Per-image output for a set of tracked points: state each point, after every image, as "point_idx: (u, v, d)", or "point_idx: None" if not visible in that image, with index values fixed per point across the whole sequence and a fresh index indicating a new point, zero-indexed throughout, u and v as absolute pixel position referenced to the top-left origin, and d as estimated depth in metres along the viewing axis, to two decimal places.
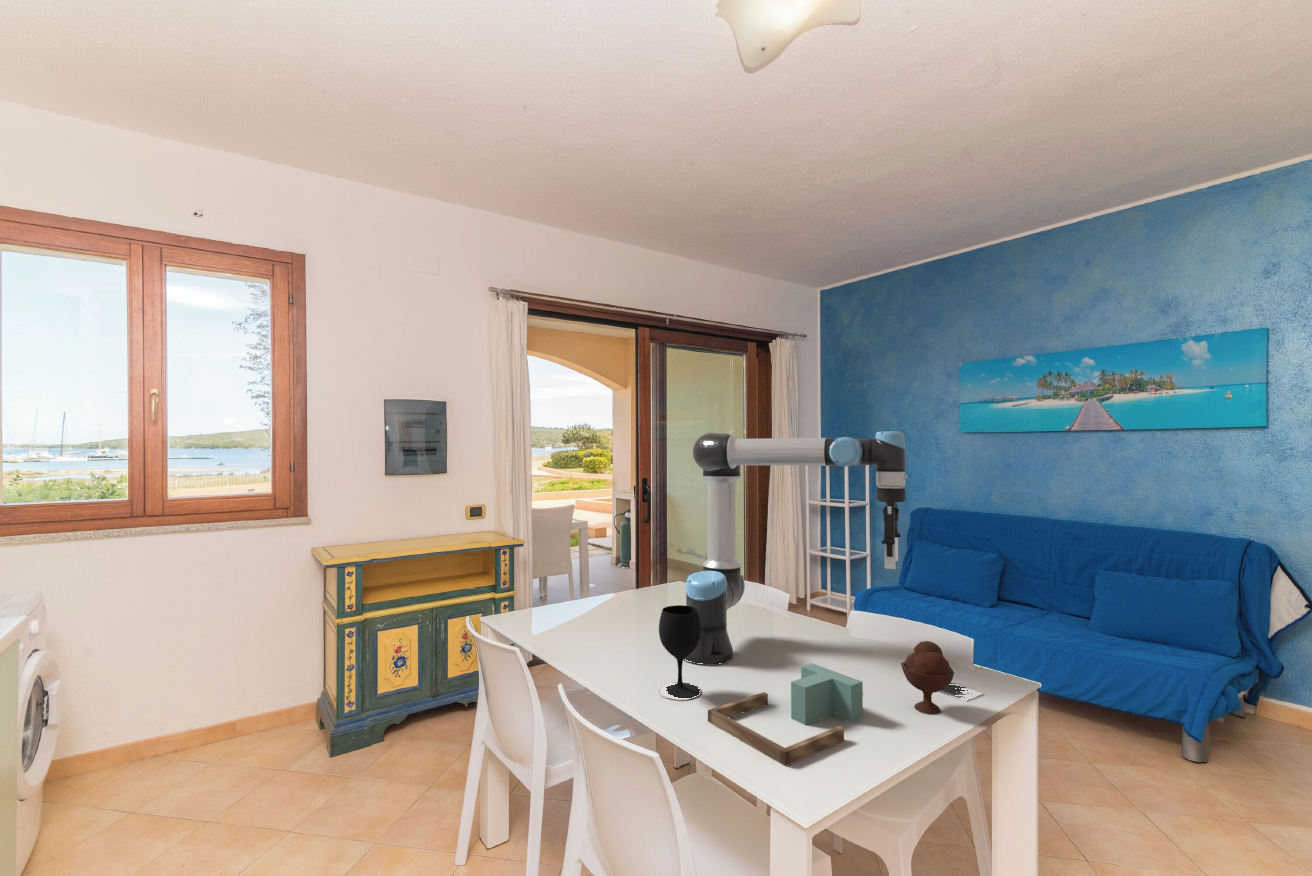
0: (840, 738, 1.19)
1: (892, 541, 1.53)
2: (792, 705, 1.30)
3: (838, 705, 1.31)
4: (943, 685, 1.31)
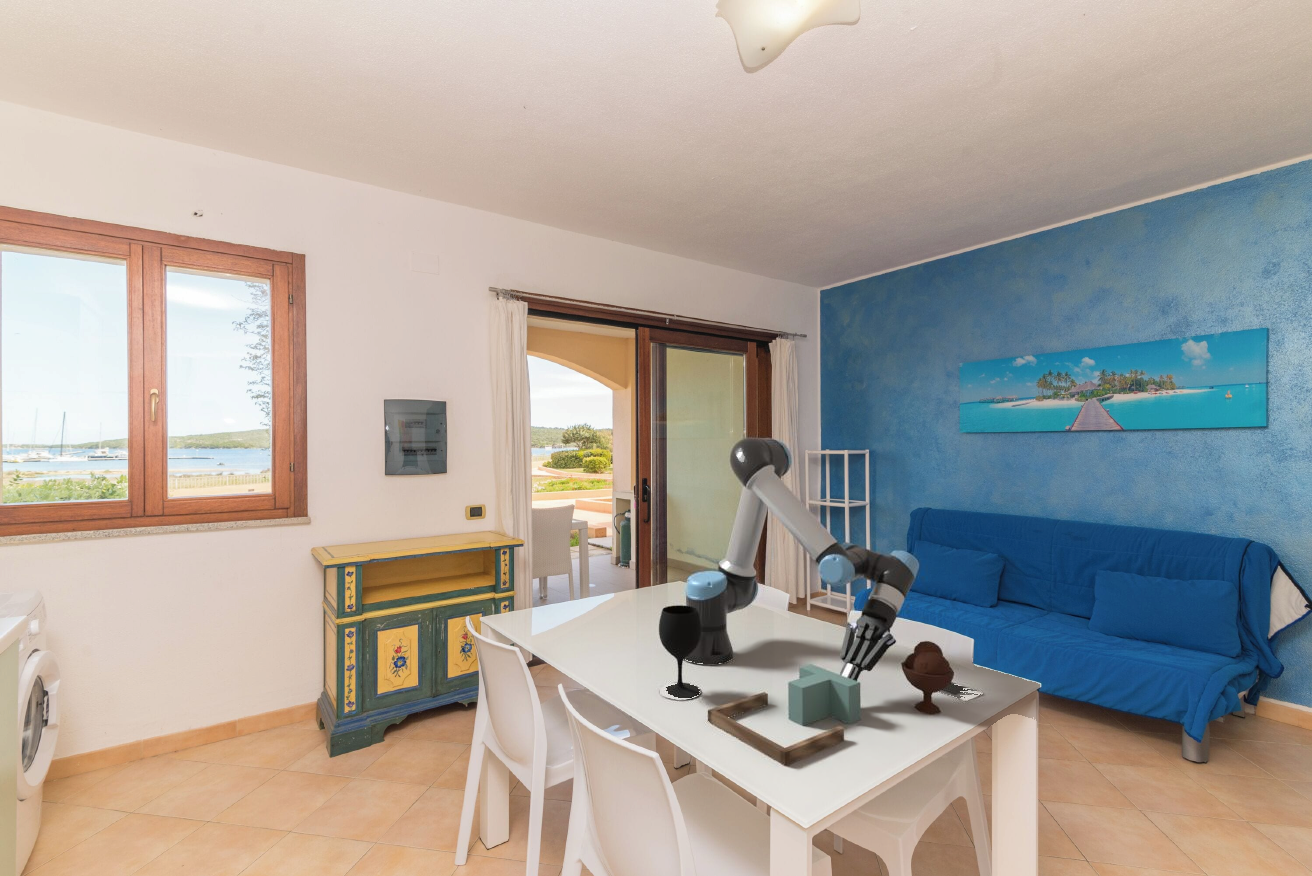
0: (840, 738, 1.19)
1: (870, 669, 1.36)
2: (789, 705, 1.30)
3: (836, 706, 1.30)
4: (943, 685, 1.31)
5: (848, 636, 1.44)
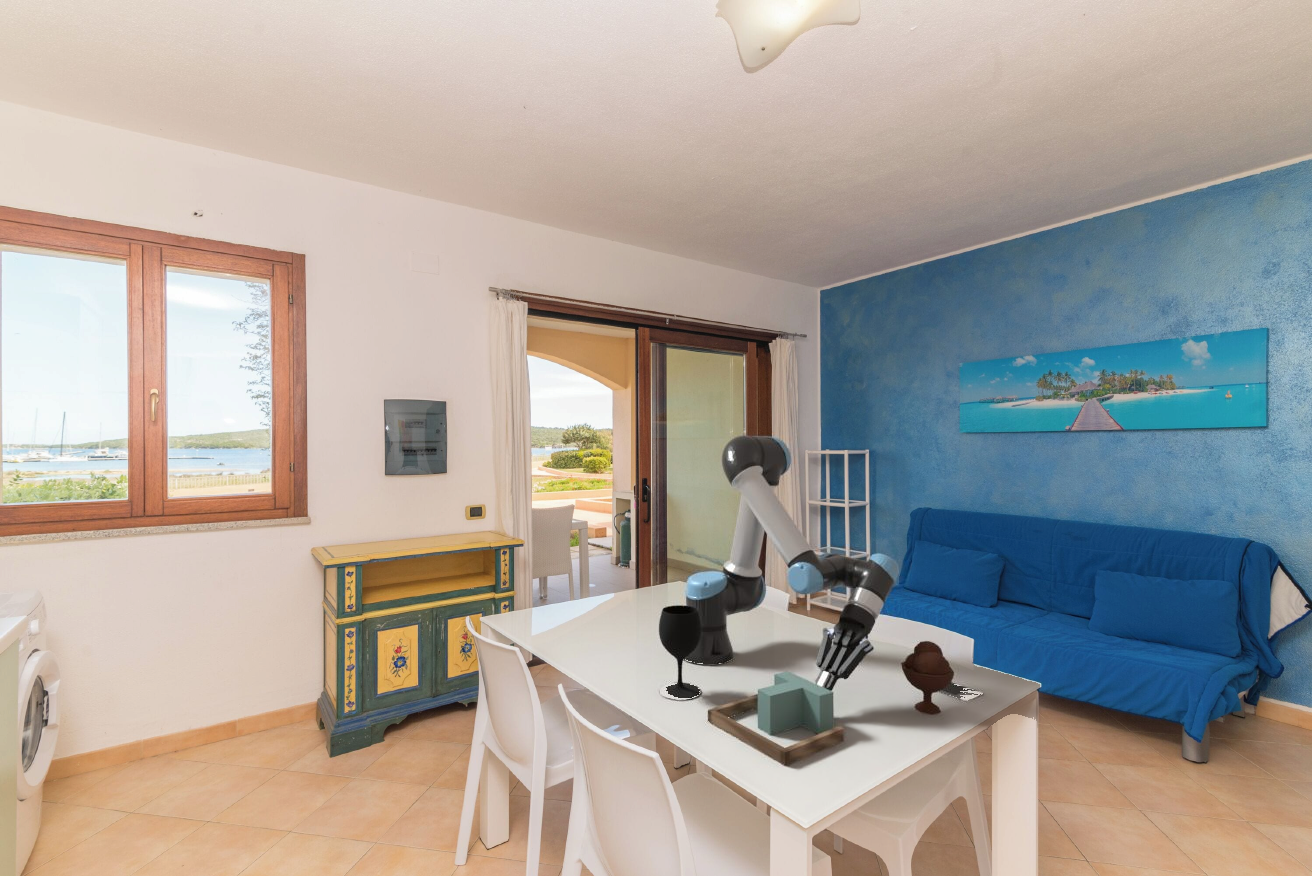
0: (840, 738, 1.19)
1: (846, 677, 1.31)
2: (758, 713, 1.26)
3: (808, 716, 1.25)
4: (943, 685, 1.31)
5: (825, 642, 1.39)
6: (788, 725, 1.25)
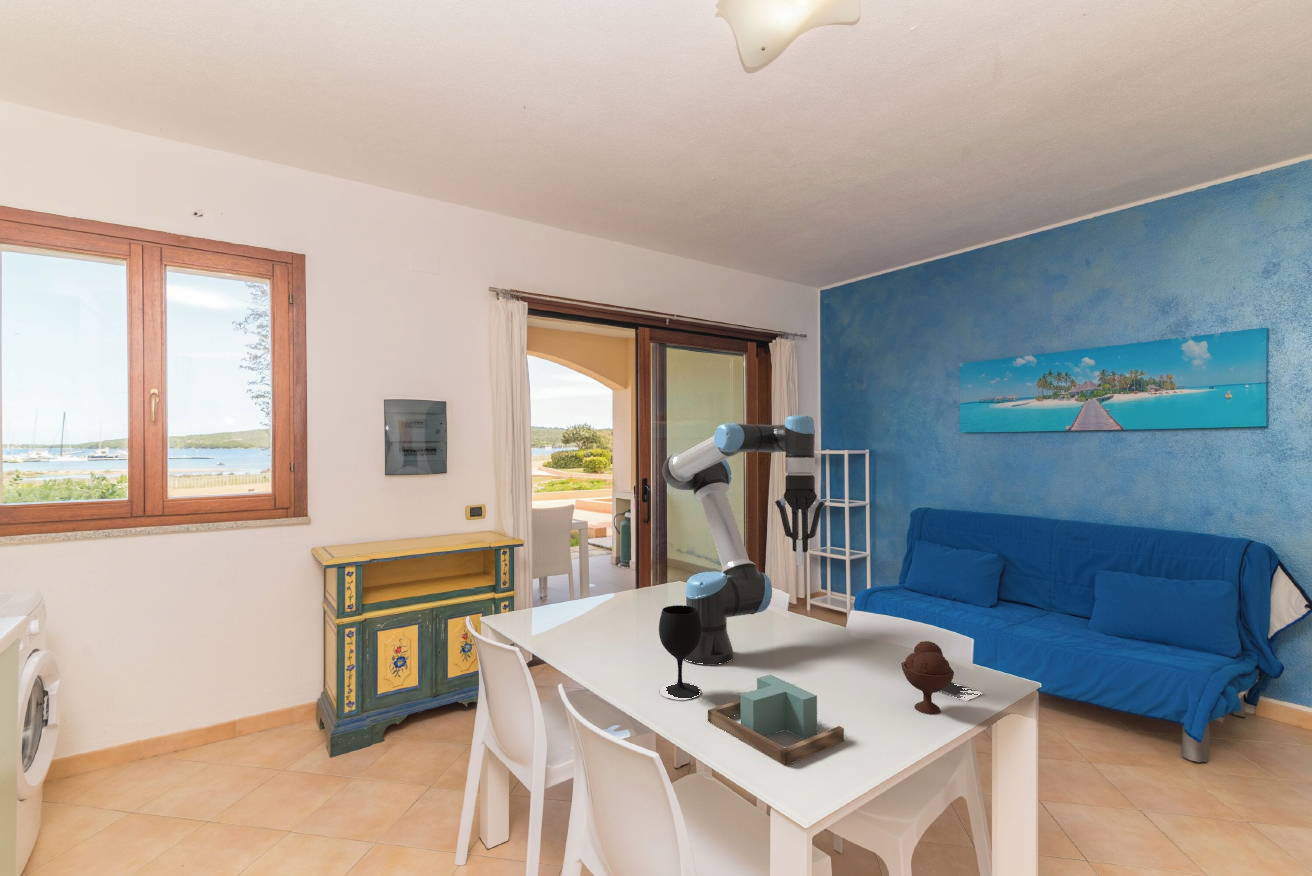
0: (840, 738, 1.19)
1: (814, 535, 1.54)
2: (741, 718, 1.23)
3: (791, 720, 1.23)
4: (943, 685, 1.31)
5: (784, 514, 1.56)
6: (771, 730, 1.23)
